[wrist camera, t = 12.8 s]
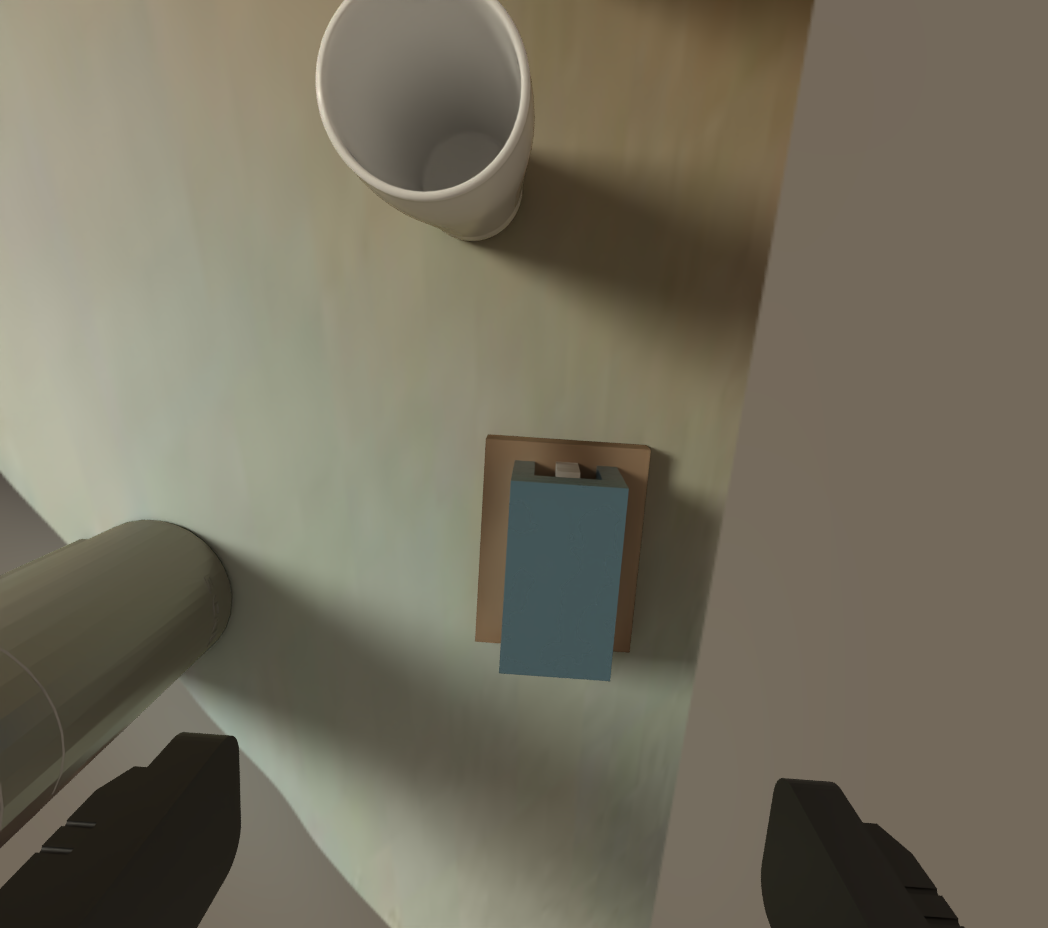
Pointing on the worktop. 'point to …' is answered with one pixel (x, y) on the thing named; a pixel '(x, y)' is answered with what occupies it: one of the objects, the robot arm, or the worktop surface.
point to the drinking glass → (431, 108)
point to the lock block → (562, 573)
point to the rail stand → (555, 462)
